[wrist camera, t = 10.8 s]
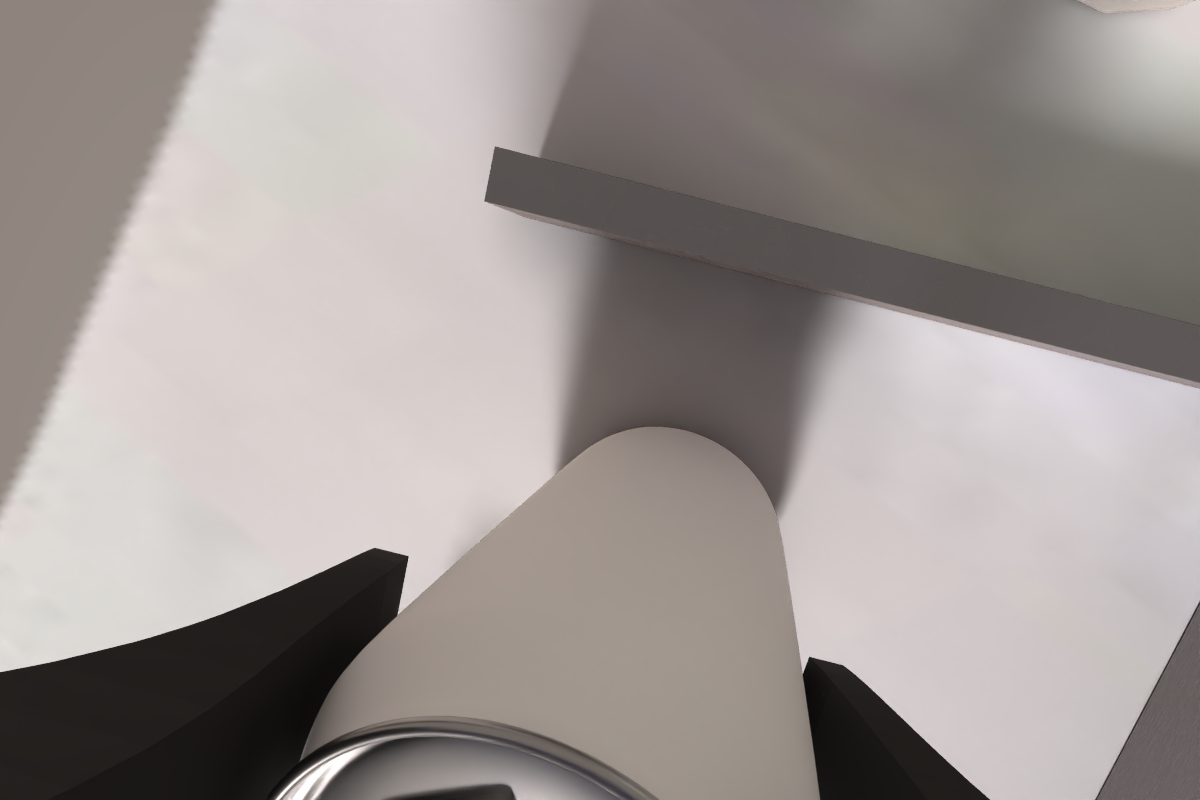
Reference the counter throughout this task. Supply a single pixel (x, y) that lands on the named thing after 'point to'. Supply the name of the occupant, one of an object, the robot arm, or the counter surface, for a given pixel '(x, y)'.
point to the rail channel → (920, 288)
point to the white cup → (1133, 5)
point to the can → (588, 650)
